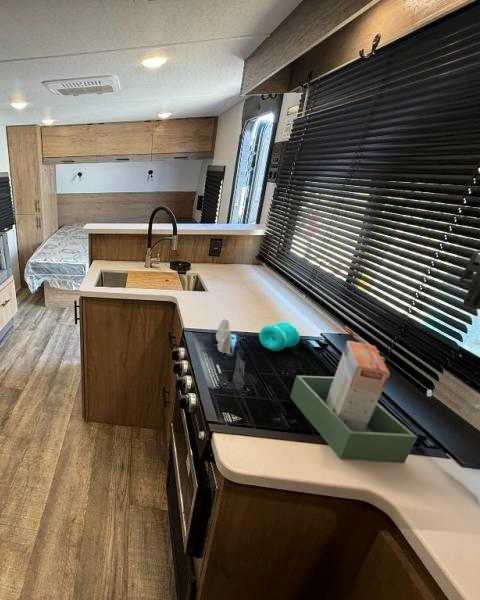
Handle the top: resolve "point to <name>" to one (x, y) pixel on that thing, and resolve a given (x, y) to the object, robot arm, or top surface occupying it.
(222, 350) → the grey jagged slab
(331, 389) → the cracker box
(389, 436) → the tote
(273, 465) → the top surface
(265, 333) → the donuts
